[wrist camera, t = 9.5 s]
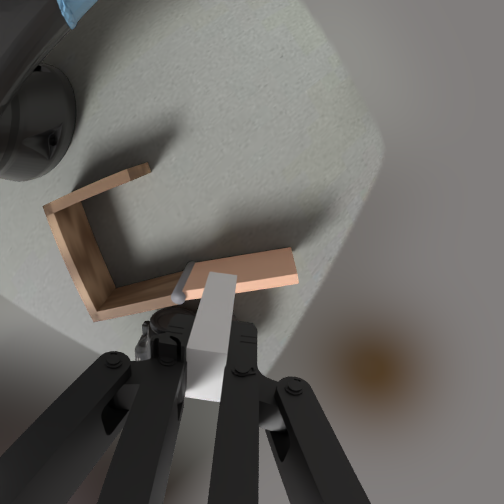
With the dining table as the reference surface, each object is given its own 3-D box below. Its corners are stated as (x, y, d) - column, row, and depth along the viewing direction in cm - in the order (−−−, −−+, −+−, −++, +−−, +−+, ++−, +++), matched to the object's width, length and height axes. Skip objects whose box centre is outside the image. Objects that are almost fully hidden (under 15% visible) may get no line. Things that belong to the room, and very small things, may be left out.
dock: (70, 194, 35) (42, 206, 29) (147, 162, 33) (126, 168, 28) (112, 297, 39) (93, 322, 34) (189, 279, 38) (178, 304, 32)
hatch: (290, 245, 36) (297, 273, 29) (292, 261, 37) (300, 292, 30) (185, 262, 37) (169, 292, 30) (189, 277, 38) (175, 310, 31)
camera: (224, 282, 38) (212, 330, 29) (251, 346, 41) (248, 401, 32) (130, 308, 40) (100, 355, 31) (163, 365, 43) (144, 416, 34)
